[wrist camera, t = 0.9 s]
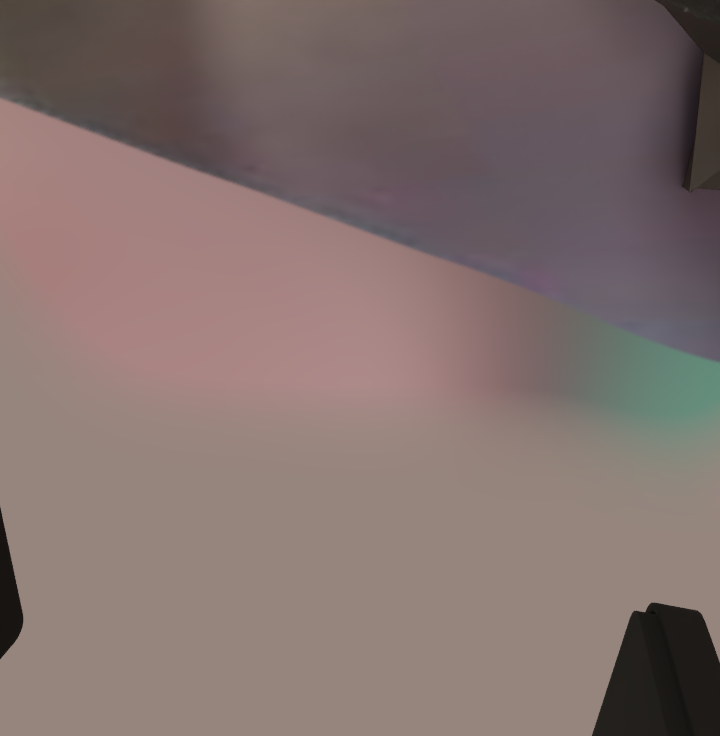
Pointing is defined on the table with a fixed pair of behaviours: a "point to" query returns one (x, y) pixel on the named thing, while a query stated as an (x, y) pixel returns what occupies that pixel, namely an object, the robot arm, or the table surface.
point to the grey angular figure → (703, 88)
